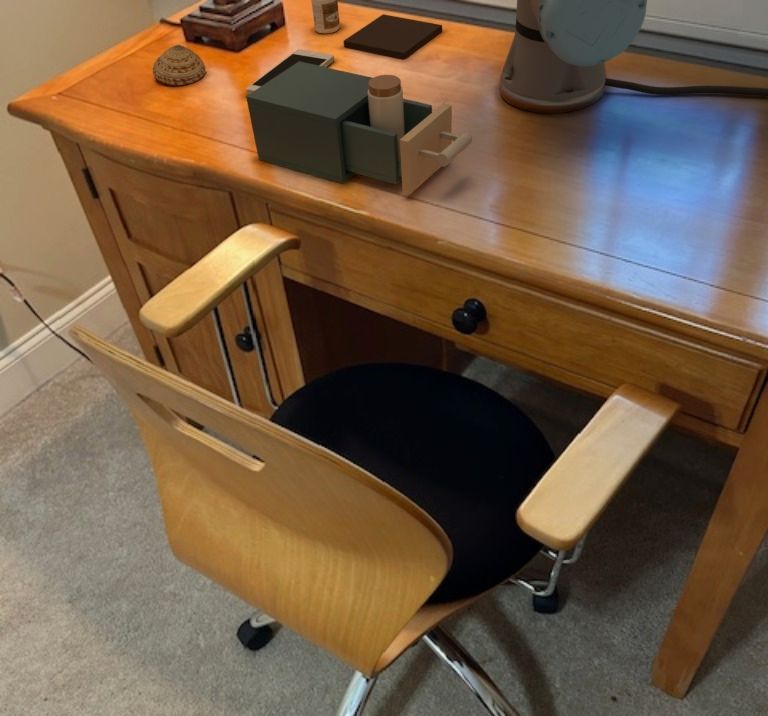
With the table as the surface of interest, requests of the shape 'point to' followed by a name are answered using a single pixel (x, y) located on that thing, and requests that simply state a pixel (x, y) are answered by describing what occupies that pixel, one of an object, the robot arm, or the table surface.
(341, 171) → the cabinet
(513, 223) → the table surface
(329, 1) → the pill bottle
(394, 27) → the coaster
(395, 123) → the spice pot
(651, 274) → the table surface
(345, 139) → the drawer
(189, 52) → the seashell
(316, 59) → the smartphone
